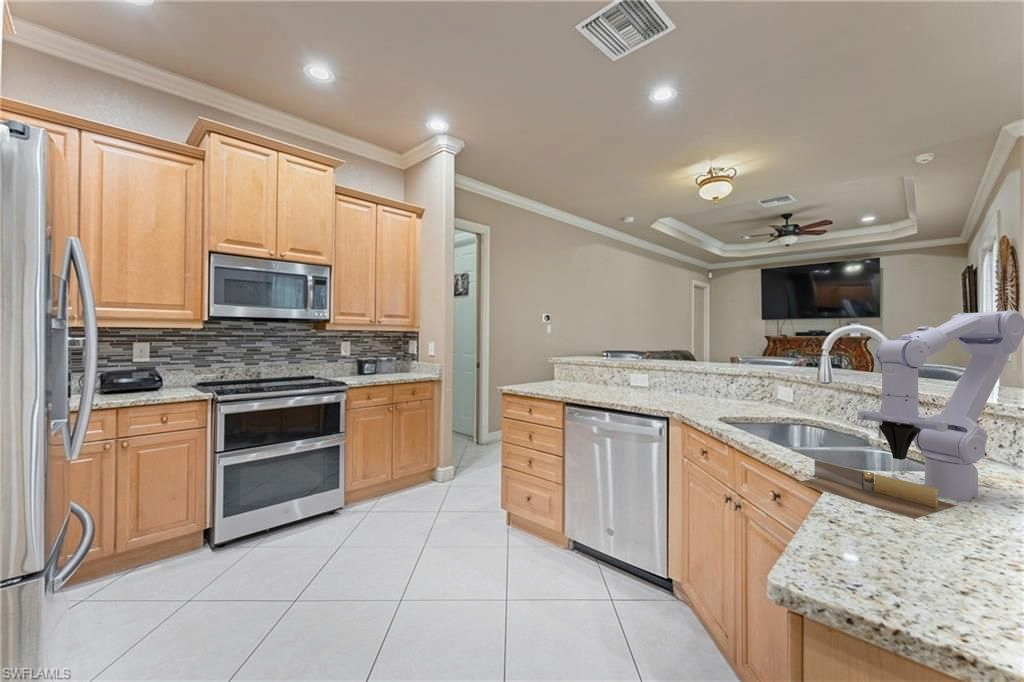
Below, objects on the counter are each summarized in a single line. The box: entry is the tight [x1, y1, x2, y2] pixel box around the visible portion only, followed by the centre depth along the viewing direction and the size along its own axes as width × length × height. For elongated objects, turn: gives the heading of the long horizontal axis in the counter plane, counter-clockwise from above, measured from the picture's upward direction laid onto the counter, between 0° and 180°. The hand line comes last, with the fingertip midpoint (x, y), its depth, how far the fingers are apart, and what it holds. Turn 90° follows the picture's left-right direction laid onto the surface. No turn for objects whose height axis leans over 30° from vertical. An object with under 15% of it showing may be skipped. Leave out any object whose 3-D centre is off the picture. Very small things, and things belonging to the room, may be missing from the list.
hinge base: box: [794, 459, 958, 520], centre depth 92 cm, size 17×23×5 cm
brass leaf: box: [864, 471, 939, 508], centre depth 88 cm, size 12×2×4 cm, turn 26°
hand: (899, 458), depth 89 cm, fingers closed
